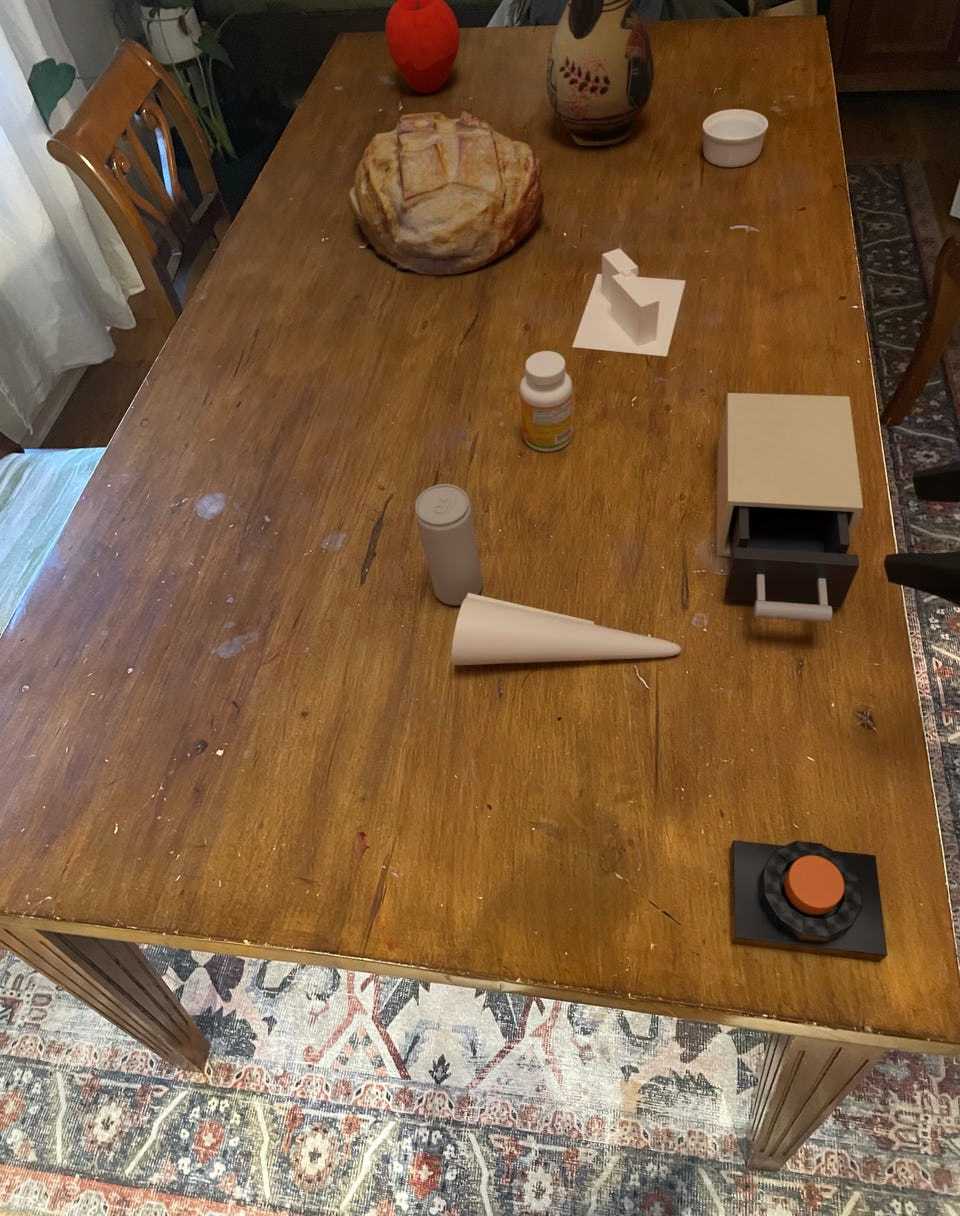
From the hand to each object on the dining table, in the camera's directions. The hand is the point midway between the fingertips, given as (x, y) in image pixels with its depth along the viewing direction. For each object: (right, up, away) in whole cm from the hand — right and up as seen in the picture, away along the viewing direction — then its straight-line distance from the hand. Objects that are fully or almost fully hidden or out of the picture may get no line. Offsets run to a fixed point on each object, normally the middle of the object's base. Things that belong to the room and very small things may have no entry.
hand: (901, 525), depth 57 cm
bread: (-33, +48, +61) cm, 85 cm away
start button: (-5, -25, +2) cm, 26 cm away
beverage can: (-31, -4, +24) cm, 39 cm away
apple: (-37, +83, +87) cm, 126 cm away
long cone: (-21, -10, +18) cm, 30 cm away
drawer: (-1, -2, +21) cm, 21 cm away
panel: (-5, -27, +4) cm, 28 cm away
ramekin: (+8, +60, +65) cm, 88 cm away
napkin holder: (-10, +30, +46) cm, 56 cm away
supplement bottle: (-21, +13, +35) cm, 43 cm away
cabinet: (+1, +5, +26) cm, 27 cm away
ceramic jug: (-11, +66, +72) cm, 99 cm away
